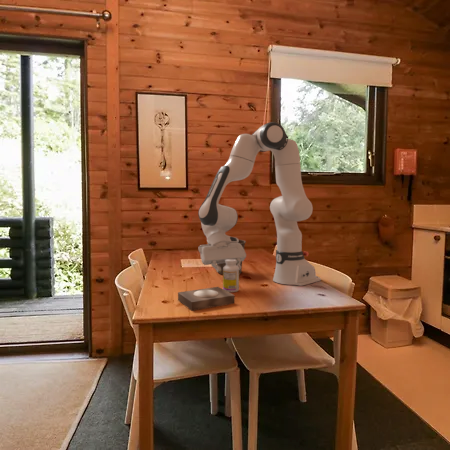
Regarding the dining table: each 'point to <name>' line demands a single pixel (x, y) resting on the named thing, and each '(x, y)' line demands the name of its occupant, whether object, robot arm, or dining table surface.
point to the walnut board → (205, 298)
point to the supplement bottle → (231, 276)
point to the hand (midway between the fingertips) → (229, 270)
